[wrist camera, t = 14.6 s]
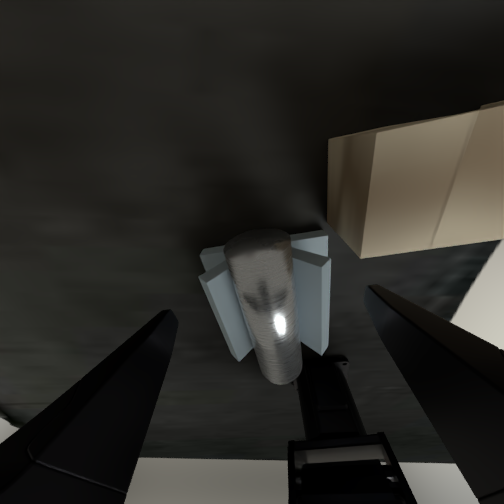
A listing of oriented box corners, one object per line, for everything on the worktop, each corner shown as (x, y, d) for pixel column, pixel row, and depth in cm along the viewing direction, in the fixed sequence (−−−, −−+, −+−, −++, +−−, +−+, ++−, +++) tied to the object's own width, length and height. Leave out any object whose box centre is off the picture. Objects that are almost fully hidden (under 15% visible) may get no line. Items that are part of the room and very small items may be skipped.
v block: (322, 308, 17) (341, 354, 13) (229, 318, 18) (221, 363, 14) (323, 229, 13) (350, 263, 9) (203, 248, 14) (182, 286, 10)
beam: (500, 193, 11) (639, 220, 7) (327, 222, 12) (360, 258, 8) (550, 90, 9) (807, 39, 5) (328, 139, 10) (376, 132, 6)
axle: (299, 339, 16) (306, 384, 13) (260, 340, 16) (258, 384, 13) (287, 224, 10) (294, 256, 7) (230, 232, 11) (215, 265, 8)
